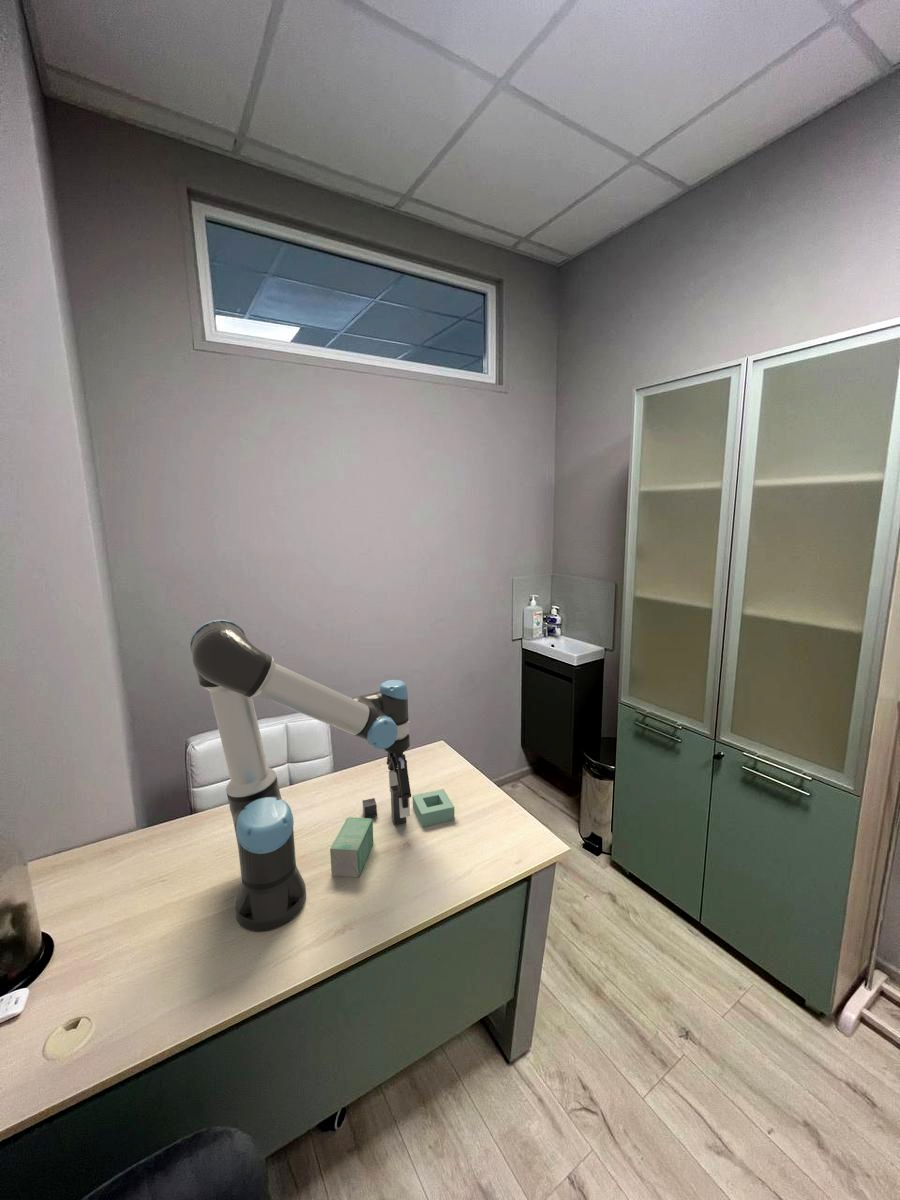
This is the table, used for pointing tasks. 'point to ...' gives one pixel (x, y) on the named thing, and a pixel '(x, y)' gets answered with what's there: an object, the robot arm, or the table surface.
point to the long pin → (396, 806)
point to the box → (351, 847)
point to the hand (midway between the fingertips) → (399, 802)
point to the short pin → (369, 808)
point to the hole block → (433, 807)
